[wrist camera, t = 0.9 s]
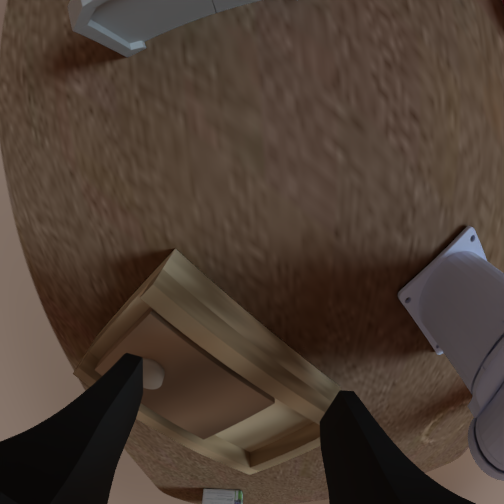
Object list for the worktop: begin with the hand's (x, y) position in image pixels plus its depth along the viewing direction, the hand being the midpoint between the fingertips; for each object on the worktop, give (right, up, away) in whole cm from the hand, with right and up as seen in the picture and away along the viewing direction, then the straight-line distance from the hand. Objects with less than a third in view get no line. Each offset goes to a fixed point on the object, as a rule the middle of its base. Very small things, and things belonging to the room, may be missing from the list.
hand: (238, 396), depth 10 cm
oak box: (-2, -4, +13) cm, 14 cm away
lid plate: (-4, -3, +9) cm, 11 cm away
